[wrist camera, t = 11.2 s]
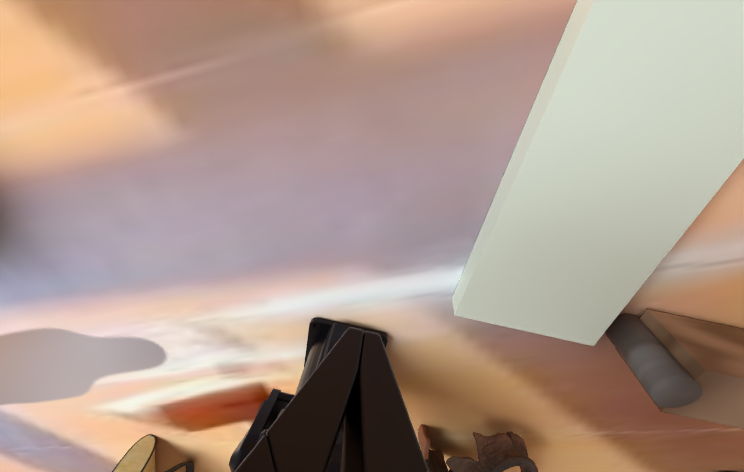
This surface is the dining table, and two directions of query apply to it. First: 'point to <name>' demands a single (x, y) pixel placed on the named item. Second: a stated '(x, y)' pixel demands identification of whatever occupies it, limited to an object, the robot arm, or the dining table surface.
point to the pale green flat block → (610, 164)
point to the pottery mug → (481, 454)
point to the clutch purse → (145, 458)
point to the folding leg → (685, 364)
